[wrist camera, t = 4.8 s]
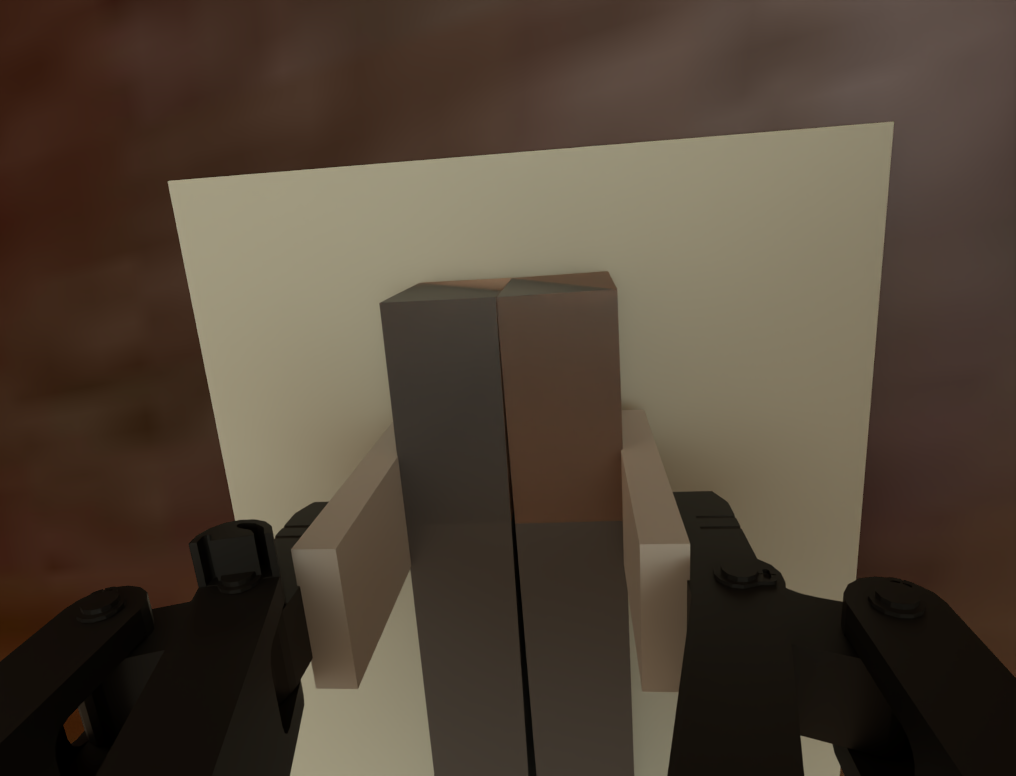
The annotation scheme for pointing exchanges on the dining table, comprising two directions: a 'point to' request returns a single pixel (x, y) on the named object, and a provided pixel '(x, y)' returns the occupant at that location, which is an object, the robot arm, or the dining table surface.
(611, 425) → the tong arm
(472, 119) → the dining table surface
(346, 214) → the tong mat
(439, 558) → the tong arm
